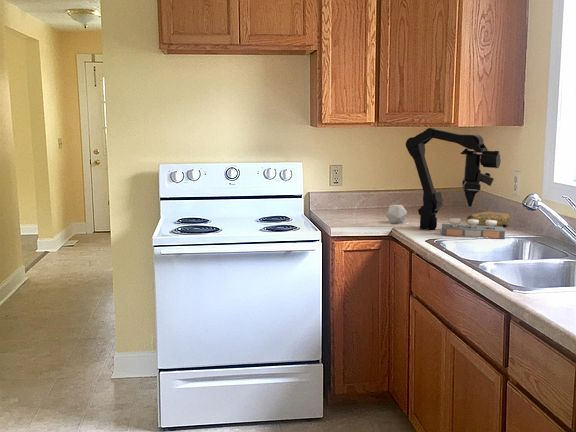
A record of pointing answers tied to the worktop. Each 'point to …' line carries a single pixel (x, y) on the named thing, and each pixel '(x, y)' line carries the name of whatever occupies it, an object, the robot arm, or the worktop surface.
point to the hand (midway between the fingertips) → (469, 204)
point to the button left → (454, 221)
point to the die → (396, 214)
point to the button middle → (472, 222)
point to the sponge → (490, 218)
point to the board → (473, 231)
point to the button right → (490, 223)
